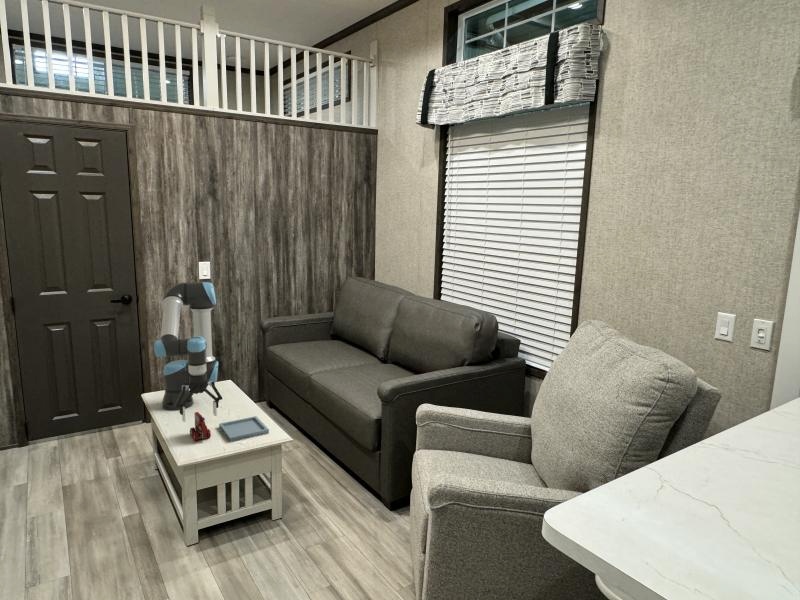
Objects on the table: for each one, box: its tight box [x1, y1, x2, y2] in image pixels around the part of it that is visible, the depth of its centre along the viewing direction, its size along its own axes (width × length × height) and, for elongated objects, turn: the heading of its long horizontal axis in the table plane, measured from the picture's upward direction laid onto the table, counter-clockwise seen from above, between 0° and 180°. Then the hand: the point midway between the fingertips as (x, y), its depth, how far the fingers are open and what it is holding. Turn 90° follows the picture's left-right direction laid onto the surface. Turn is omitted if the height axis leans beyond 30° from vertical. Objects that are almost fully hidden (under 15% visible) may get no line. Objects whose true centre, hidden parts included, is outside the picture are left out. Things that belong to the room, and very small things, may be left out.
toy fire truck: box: [189, 411, 212, 442], centre depth 244 cm, size 7×12×10 cm, turn 36°
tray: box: [218, 415, 270, 443], centre depth 253 cm, size 18×18×2 cm
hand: (199, 417), depth 243 cm, fingers open, 13 cm apart
